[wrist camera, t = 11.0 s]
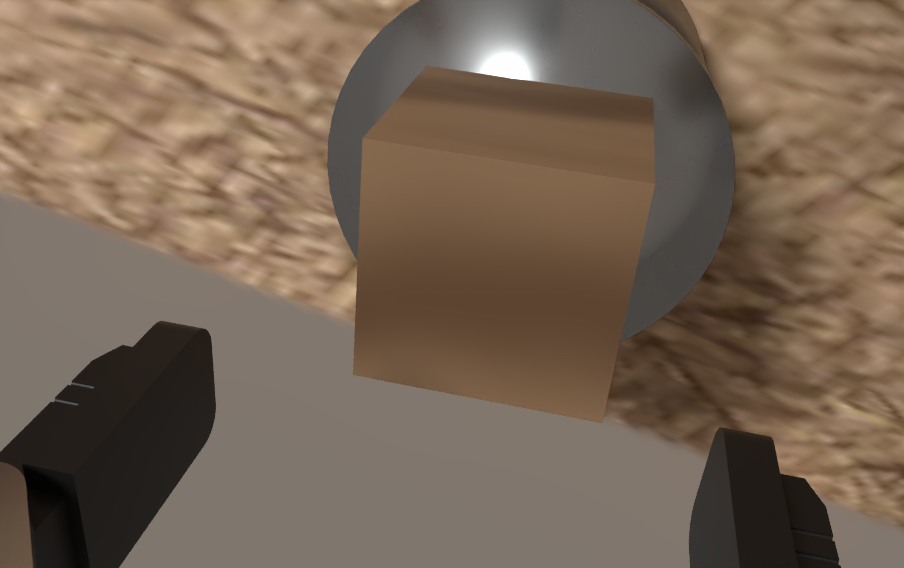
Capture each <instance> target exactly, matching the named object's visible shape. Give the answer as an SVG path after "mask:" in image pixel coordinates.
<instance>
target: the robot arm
mask: <svg viewBox="0 0 904 568" xmlns="http://www.w3.org/2000/svg"><path fill="white" fill-rule="evenodd" d="M215 411H216V401H215V386H214V371H213V358H212V343H211V337H210V334H209V332H208V331H207V330H206V329H202V328H197V327H192V326H187V325H181V324H176V323H171V322H165V321H159V322H157V323H156V324H155V325H154V326H153V327H152V328H151V329H150V330H149V331H148V332H147V333H146V334H145V335H144V336H143V337H142V338H141V339H140V340H139V341H138V342H137V343H136V345H134V346H133V347H129V346H125V345H122V346H120V347H118V348H116V349H114V350H112V351H110V352H108V353H106V354H104V355H102V356H100V357H98V358H96V359H95V360H93V361H91V362H90V364H89V365H87V366H86V367H85V368H84V369H83V371H81V373H79V374H78V375H77V376H76V378H74V379H73V380H72V384H71V386H70V385H68V386H66V387H65V388H64V389H63V390H62V392H60V393H59V394H58V395H57V396H56V397H55V401H54V402H50V403H49V404H48V405H47V406H46V407H45V408H44V409H43V410H42V411H41V412H40V413H39V414H38V415H37V416H36V417H35V418H34V419H33V420H32V421H31V422H30V423H29V424H28V425H27V426H26V427H25V428H24V429H23V430H22V431H21V432H20V433H19V434H18V435H17V436H16V437H15V438H14V439H13V440H12V441H11V442H10V443H9V444H8V445H7V446H6V447H5V448H4V449H3V450H2V451H1V452H0V568H119V567H120V565H121V564H122V562H123V561H124V560H125V558H126V557H127V555H128V554H129V552H130V551H131V550H132V548H133V546H134V545H135V544H136V542H137V541H138V539H139V538H140V537H141V535H142V534H143V532H144V531H145V529H146V528H147V527H148V525H149V524H150V522H151V521H152V519H153V518H154V517H155V515H156V514H157V512H158V511H159V509H160V508H161V507H162V505H163V504H164V502H165V501H166V499H167V498H168V497H169V495H170V493H171V492H172V491H173V489H174V488H175V487H176V485H177V484H178V482H179V481H180V479H181V478H182V476H183V475H184V474H185V472H186V471H187V469H188V467H189V466H190V465H191V464H192V462H193V461H194V459H195V458H196V456H197V455H198V453H199V452H200V451H201V449H202V448H203V446H204V445H205V443H206V442H207V440H208V438H209V435H210V433H211V430H212V427H213V423H214V419H215ZM832 538H833V533H832V529H831V525H830V521H829V517H828V514H827V509H826V506H825V505H824V504H823V502H822V501H821V500H820V498H819V497H818V496H817V494H816V493H815V492H814V490H813V489H812V488H811V486H810V485H809V484H808V482H807V481H806V480H805V478H799V477H794V476H789V475H784V474H780V471H779V466H778V461H777V456H776V451H775V445H774V441H773V439H772V438H771V437H769V436H764V435H758V434H753V433H748V432H742V431H737V430H732V429H726V428H721V427H720V428H719V429H718V430H717V432H716V434H715V437H714V440H713V443H712V446H711V450H710V453H709V456H708V460H707V463H706V466H705V469H704V473H703V476H702V479H701V483H700V486H699V489H698V492H697V496H696V499H695V503H694V507H693V511H692V516H691V523H690V533H689V554H690V568H841V566H840V565H838V562H839V557H838V553H837V549H836V545H835V542H834V541H832Z"/></svg>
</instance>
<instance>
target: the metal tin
mask: <svg viewBox="0 0 904 568" xmlns="http://www.w3.org/2000/svg"><path fill="white" fill-rule="evenodd" d="M426 66H432V67H439V68H446V69H453V70H460V71H467V72H474V73H481V74H488V75H495V76H502V77H509V78H516V79H522V80H529V81H536V82H543V83H550V84H557V85H564V86H571V87H578V88H585V89H592V90H599V91H606V92H613V93H620V94H626V95H633V96H640V97H647V98H653V110H654V153H655V187H654V192H653V196H652V201H651V205H650V210H649V214H648V219H647V223H646V228H645V232H644V237H643V241H642V246H641V250H640V255H639V259H638V264H637V268H636V273H635V277H634V282H633V286H632V291H631V295H630V300H629V304H628V309H627V313H626V318H625V322H624V327H623V331H622V336H621V340H620V341H623V340H626V339H628V338H629V337H631V336H633V335H635V334H637V333H639V332H641V331H642V330H644V329H646V328H648V327H649V326H651V325H652V324H653V323H655V322H656V321H658V320H659V319H660V318H662V317H663V316H665V315H666V314H667V313H669V312H670V311H671V310H672V309H673V308H674V307H675V306H676V305H677V304H678V303H679V302H680V301H682V300H683V299H684V298H685V297H686V296H687V294H688V293H689V292H690V291H691V290H692V288H693V287H694V286H695V285H696V284H697V282H698V281H699V280H700V279H701V277H702V276H703V274H704V272H705V271H706V269H707V268H708V266H709V264H710V263H711V261H712V260H713V258H714V256H715V254H716V252H717V250H718V247H719V245H720V243H721V241H722V238H723V236H724V234H725V230H726V227H727V223H728V220H729V216H730V213H731V209H732V202H733V194H734V187H735V156H734V149H733V143H732V137H731V131H730V127H729V123H728V120H727V116H726V113H725V110H724V107H723V104H722V101H721V97H720V95H719V93H718V91H717V89H716V87H715V85H714V82H713V80H712V78H711V76H710V74H709V72H708V70H707V68H706V64H705V60H704V55H703V51H702V47H701V44H700V40H699V37H698V34H697V31H696V28H695V25H694V23H693V21H692V19H691V17H690V15H689V13H688V11H687V9H686V7H685V6H684V4H683V3H682V1H681V0H419V1H418V2H416V3H414V4H413V5H411V6H410V7H408V8H407V9H406V10H404V11H403V12H402V13H401V14H400V15H398V16H397V17H396V18H395V19H394V20H393V21H391V22H390V23H389V24H388V25H387V26H385V27H384V28H383V29H382V30H381V31H380V32H379V33H378V35H377V36H376V37H375V38H374V39H373V40H372V41H371V42H370V44H369V45H368V46H367V47H366V48H365V49H364V51H363V52H362V54H361V55H360V57H359V58H358V60H357V61H356V63H355V64H354V66H353V67H352V69H351V71H350V73H349V75H348V77H347V79H346V81H345V83H344V85H343V87H342V90H341V92H340V94H339V97H338V100H337V104H336V107H335V110H334V113H333V116H332V122H331V128H330V134H329V140H328V165H327V166H328V176H329V185H330V192H331V196H332V200H333V205H334V209H335V213H336V216H337V218H338V221H339V224H340V226H341V229H342V232H343V234H344V237H345V238H346V240H347V242H348V244H349V246H350V248H351V250H352V252H353V254H354V256H355V257H356V259H357V260H358V241H359V216H360V190H361V165H362V140H363V137H364V136H365V135H366V134H367V133H368V131H369V130H370V129H371V128H372V127H373V126H374V125H375V124H376V122H377V121H378V120H379V119H380V118H381V117H382V116H383V115H384V113H385V112H386V111H387V110H388V109H389V108H390V107H391V105H392V104H393V103H394V102H395V101H396V100H397V99H398V98H399V96H400V95H401V94H402V93H403V92H404V91H405V90H406V88H407V87H408V86H409V85H410V84H411V83H412V82H413V81H414V79H415V78H416V77H417V76H418V75H419V74H420V73H421V71H422V70H423V69H424V68H425V67H426Z"/></svg>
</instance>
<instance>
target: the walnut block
mask: <svg viewBox="0 0 904 568" xmlns="http://www.w3.org/2000/svg"><path fill="white" fill-rule="evenodd" d="M654 187H655V153H654V110H653V98H647V97H640V96H633V95H626V94H620V93H613V92H606V91H599V90H592V89H585V88H578V87H571V86H564V85H557V84H550V83H543V82H536V81H529V80H522V79H516V78H509V77H502V76H495V75H488V74H481V73H474V72H467V71H460V70H453V69H446V68H439V67H432V66H426V67H425V68H424V69H423V70H422V71H421V73H420V74H419V75H418V76H417V77H416V78H415V79H414V81H413V82H412V83H411V84H410V85H409V86H408V87H407V88H406V90H405V91H404V92H403V93H402V94H401V95H400V96H399V98H398V99H397V100H396V101H395V102H394V103H393V104H392V105H391V107H390V108H389V109H388V110H387V111H386V112H385V113H384V115H383V116H382V117H381V118H380V119H379V120H378V121H377V122H376V124H375V125H374V126H373V127H372V128H371V129H370V130H369V131H368V133H367V134H366V135H365V136H364V137H363V140H362V165H361V190H360V216H359V241H358V266H357V291H356V317H355V342H354V367H353V368H354V369H353V375H357V376H362V377H367V378H372V379H377V380H382V381H388V382H393V383H398V384H403V385H408V386H414V387H419V388H424V389H429V390H434V391H439V392H445V393H450V394H455V395H460V396H465V397H471V398H476V399H481V400H486V401H491V402H497V403H501V404H507V405H512V406H517V407H522V408H527V409H533V410H538V411H543V412H548V413H553V414H559V415H563V416H569V417H574V418H579V419H584V420H589V421H595V422H600V423H602V421H603V417H604V412H605V408H606V403H607V399H608V394H609V390H610V385H611V381H612V376H613V372H614V367H615V363H616V358H617V354H618V349H619V345H620V340H621V336H622V331H623V327H624V322H625V318H626V313H627V309H628V304H629V300H630V295H631V291H632V286H633V282H634V277H635V273H636V268H637V264H638V259H639V255H640V250H641V246H642V241H643V237H644V232H645V228H646V223H647V219H648V214H649V210H650V205H651V201H652V196H653V192H654Z"/></svg>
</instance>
